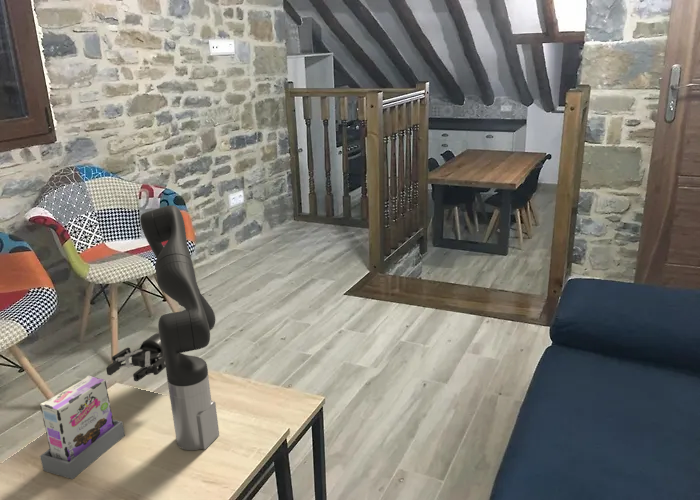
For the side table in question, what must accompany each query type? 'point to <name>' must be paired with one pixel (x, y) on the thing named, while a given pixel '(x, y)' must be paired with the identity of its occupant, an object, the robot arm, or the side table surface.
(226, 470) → the side table surface
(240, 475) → the side table surface
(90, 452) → the bin
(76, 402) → the candy box
